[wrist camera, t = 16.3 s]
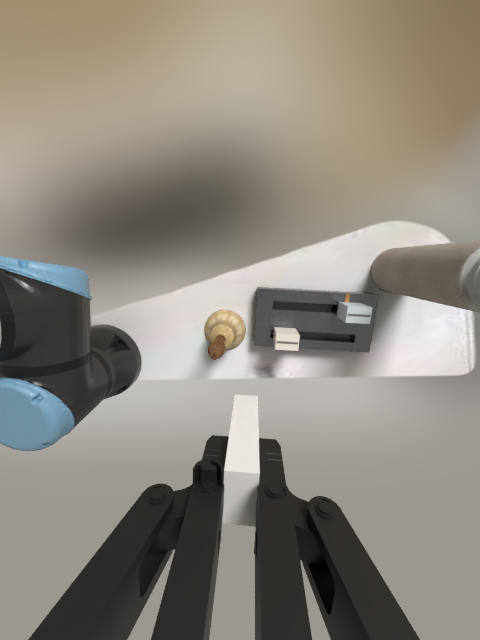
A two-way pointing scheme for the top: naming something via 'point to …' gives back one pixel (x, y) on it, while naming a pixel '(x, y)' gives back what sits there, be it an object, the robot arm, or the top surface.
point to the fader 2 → (354, 312)
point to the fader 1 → (286, 339)
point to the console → (312, 318)
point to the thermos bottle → (432, 273)
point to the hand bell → (224, 332)
